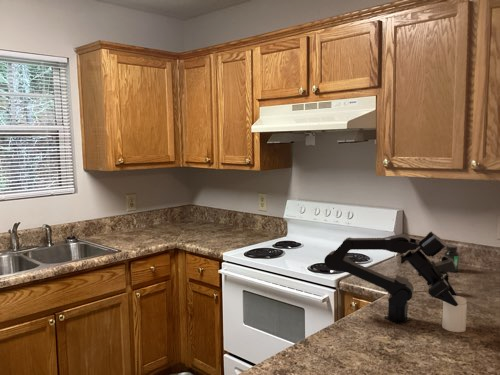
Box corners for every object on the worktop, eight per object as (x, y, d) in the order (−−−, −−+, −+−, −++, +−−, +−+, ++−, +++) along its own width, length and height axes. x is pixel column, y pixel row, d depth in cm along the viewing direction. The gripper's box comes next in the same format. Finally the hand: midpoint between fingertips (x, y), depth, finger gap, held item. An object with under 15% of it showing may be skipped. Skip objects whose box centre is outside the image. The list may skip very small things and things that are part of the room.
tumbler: (465, 333, 145) (467, 303, 144) (442, 329, 148) (443, 300, 147) (464, 325, 152) (466, 296, 151) (442, 322, 154) (443, 294, 153)
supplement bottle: (459, 273, 212) (460, 248, 211) (443, 271, 215) (444, 247, 213) (457, 269, 219) (458, 245, 218) (442, 268, 221) (443, 244, 220)
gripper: (441, 256, 140) (478, 295, 137) (441, 244, 158) (474, 278, 154) (413, 278, 144) (449, 316, 141) (416, 263, 161) (448, 297, 158)
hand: (456, 300), depth 149 cm, fingers open, 9 cm apart
